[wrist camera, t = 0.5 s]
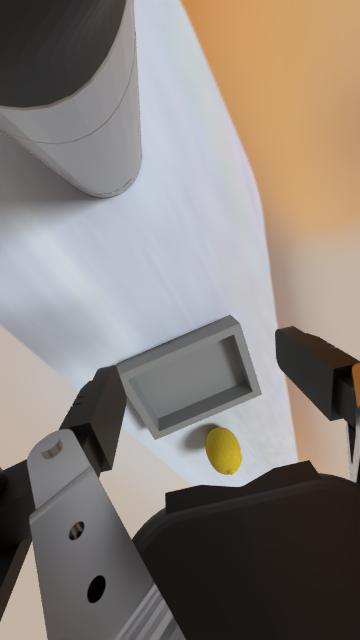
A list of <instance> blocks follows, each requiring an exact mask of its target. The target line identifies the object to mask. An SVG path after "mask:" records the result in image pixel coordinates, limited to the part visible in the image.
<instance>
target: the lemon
mask: <svg viewBox="0 0 360 640" xmlns="http://www.w3.org/2000/svg"><path fill="white" fill-rule="evenodd" d="M205 446H206V453H207V456H208V458H209V461H210V463H211V464H212V466H213V467H214V468H215V469H216V470H217V471H218V472H220V473H222V474H225V475H232V474H233V473H235V472H236V471H237V470H238V468H239V467H240V464H241V460H242V455H241V449H240V446H239V443H238V441H237V439H236V437H235V436H234V434H233V433H232V432H231V431H229V430H228V429H226V428H222V427H217V428H214V429H213V430H211V431H210V432H209V434H208V435H207V438H206V442H205Z"/></svg>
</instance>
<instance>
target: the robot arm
mask: <svg viewBox="0 0 360 640" xmlns="http://www.w3.org/2000/svg"><path fill="white" fill-rule="evenodd" d="M0 130H1V131H3V132H4V133H5V134H6V135H8V136H9V137H10V138H12V139H13V140H14V141H16V142H17V143H18V144H19V145H21V146H22V147H23V148H25V149H26V150H27V151H29V152H30V153H31V154H32V155H34V156H35V157H36V158H38V159H39V160H40V161H42V162H43V163H44V164H45V165H47V166H48V167H49V168H51V169H52V170H53V171H55V172H56V173H57V174H59V175H60V176H61V177H62V178H64V179H65V180H66V181H68V182H69V183H70V184H71V185H73V186H74V187H76V188H77V189H79V190H80V191H82V192H83V193H86V194H88V195H91V196H94V197H100V198H106V197H113V196H116V195H119V194H121V193H122V192H124V191H126V190H127V189H128V188H129V187H130V186H131V185H132V183H133V182H134V180H135V179H136V177H137V175H138V172H139V169H140V165H141V159H142V146H141V124H140V105H139V87H138V68H137V49H136V32H135V19H134V1H133V0H0ZM275 341H276V359H277V363H278V365H279V367H280V369H281V370H282V371H283V372H284V373H285V374H286V375H287V376H288V377H289V378H290V379H291V380H292V382H294V384H295V385H296V386H297V387H298V388H299V389H300V390H301V391H302V392H303V393H304V394H305V395H306V396H307V397H308V398H309V399H310V400H311V401H312V402H313V404H314V405H315V406H316V407H317V408H318V409H319V410H320V411H321V412H322V413H323V414H324V415H325V416H326V417H327V418H328V419H329V420H330V421H333V420H338V419H342V418H343V419H344V420H345V421H347V426H346V431H347V443H348V457H349V469H350V480H347V479H345V478H341V477H338V476H334V475H328V474H322V473H318V472H317V471H316V469H315V468H314V467H313V465H312V464H311V462H310V461H309V460H308V461H304V462H299V463H295V464H290V465H286V466H282V467H277V468H274V469H272V470H270V471H268V472H267V473H265V474H263V475H262V476H260V477H258V478H256V479H255V480H253V481H251V482H249V483H248V484H246V485H244V486H242V487H226V486H210V485H198V486H194V487H190V488H185V489H181V490H176V491H173V492H168V493H166V494H165V497H166V499H165V501H166V507H165V508H164V509H162V510H160V511H159V512H158V513H156V514H155V515H154V516H152V517H151V518H150V519H149V520H148V521H147V522H146V523H145V524H144V525H143V526H142V527H141V528H140V530H139V531H138V532H137V533H136V534H135V536H134V537H133V539H132V540H131V538H130V536H129V534H128V532H127V530H126V529H125V527H124V525H123V523H122V521H121V519H120V518H119V516H118V514H117V512H116V510H115V508H114V506H113V505H112V503H111V501H110V499H109V497H108V496H107V493H106V492H105V490H104V488H103V486H102V484H101V482H100V481H99V476H100V473H101V472H104V471H108V470H112V466H113V462H114V457H115V452H116V448H117V443H118V439H119V434H120V430H121V425H122V421H123V416H124V412H125V407H126V393H125V389H124V387H123V384H122V381H121V378H120V375H119V373H118V370H117V368H116V366H114V365H113V366H109V367H104V368H100V369H98V370H97V372H96V374H95V376H94V378H93V380H92V381H89V382H88V383H87V384H86V385H85V386H84V387H83V388H82V389H81V390H80V392H79V394H78V395H77V398H76V399H75V401H74V403H73V406H71V408H70V410H69V412H68V414H67V415H66V417H65V419H64V421H63V423H62V425H61V426H60V428H59V430H58V431H55V432H53V433H51V434H49V435H47V436H46V437H45V438H43V439H42V440H41V441H40V442H39V443H38V444H36V445H35V447H34V448H33V449H32V450H31V452H30V454H29V456H28V458H27V459H26V460H24V461H22V462H20V463H18V464H16V465H14V466H12V467H10V468H7V469H5V470H2V469H1V468H0V621H1V618H2V616H3V613H4V611H5V608H6V606H7V603H8V600H9V598H10V595H11V593H12V590H13V588H14V585H15V583H16V580H17V578H18V575H19V572H20V570H21V567H22V565H23V562H24V560H25V557H26V555H27V552H28V550H29V547H30V545H31V542H32V541H33V548H34V555H35V561H36V567H37V574H38V580H39V587H40V593H41V599H42V606H43V612H44V618H45V625H46V631H47V638H48V640H360V361H358V360H357V359H355V358H353V357H352V356H350V355H348V354H347V353H345V352H343V351H342V350H340V349H338V348H335V346H333V345H331V344H330V343H327V342H326V341H325V340H323V339H321V338H320V337H317V336H314V335H311V334H308V333H306V334H305V333H304V332H302V331H300V330H299V329H297V328H296V327H294V326H290V327H286V328H282V329H277V330H276V332H275Z"/></svg>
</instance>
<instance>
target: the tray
mask: <svg viewBox="0 0 360 640" xmlns="http://www.w3.org/2000/svg"><path fill="white" fill-rule="evenodd" d="M117 370H118V373H119V375H120V378H121V381H122V384H123V387H124V389H125V393H126V395H127V396H128V398H129V400H130V401H131V403H132V404H133V406H134V408H135V409H136V411H137V412H138V414H139V415H140V417H141V419H142V420H143V422H144V423H145V425H146V426H147V428H148V430H149V431H150V433H151V434H152V436H153V437H154V439H155V440H156V439H158V438H161V437H163V436H166V435H168V434H170V433H173V432H175V431H177V430H180V429H182V428H184V427H187V426H189V425H191V424H194V423H196V422H198V421H201V420H203V419H205V418H208V417H210V416H212V415H215V414H217V413H219V412H222V411H224V410H226V409H229V408H231V407H233V406H236V405H238V404H240V403H243V402H245V401H248V400H250V399H252V398H255V397H257V396H259V395H262V393H261V390H260V387H259V384H258V380H257V377H256V374H255V371H254V367H253V364H252V361H251V358H250V354H249V351H248V348H247V345H246V341H245V338H244V335H243V332H242V328H241V325H240V323H239V322H238V321H237V320H236V319H234V318H233V317H232V316H231V315H230V316H227V317H225V318H223V319H220V320H218V321H216V322H213V323H211V324H208V325H206V326H204V327H201V328H199V329H197V330H194V331H192V332H190V333H187V334H185V335H183V336H180V337H178V338H176V339H173V340H171V341H169V342H166V343H164V344H162V345H159V346H157V347H155V348H152V349H150V350H148V351H145V352H143V353H141V354H138V355H136V356H134V357H131V358H129V359H127V360H124V361H122V362H120V363H118V366H117Z"/></svg>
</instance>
